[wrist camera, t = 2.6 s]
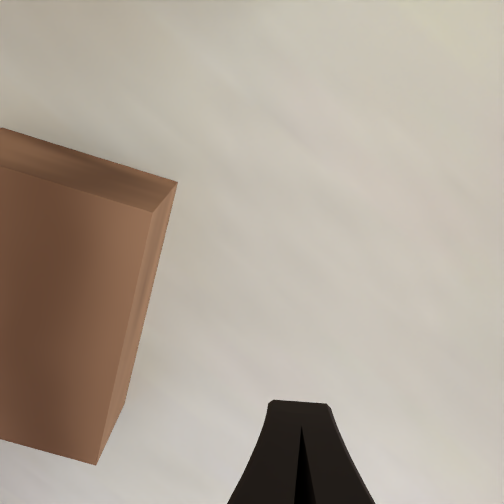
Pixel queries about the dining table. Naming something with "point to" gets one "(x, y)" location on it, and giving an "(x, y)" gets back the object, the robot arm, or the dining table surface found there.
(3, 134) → the slab
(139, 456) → the dining table surface
